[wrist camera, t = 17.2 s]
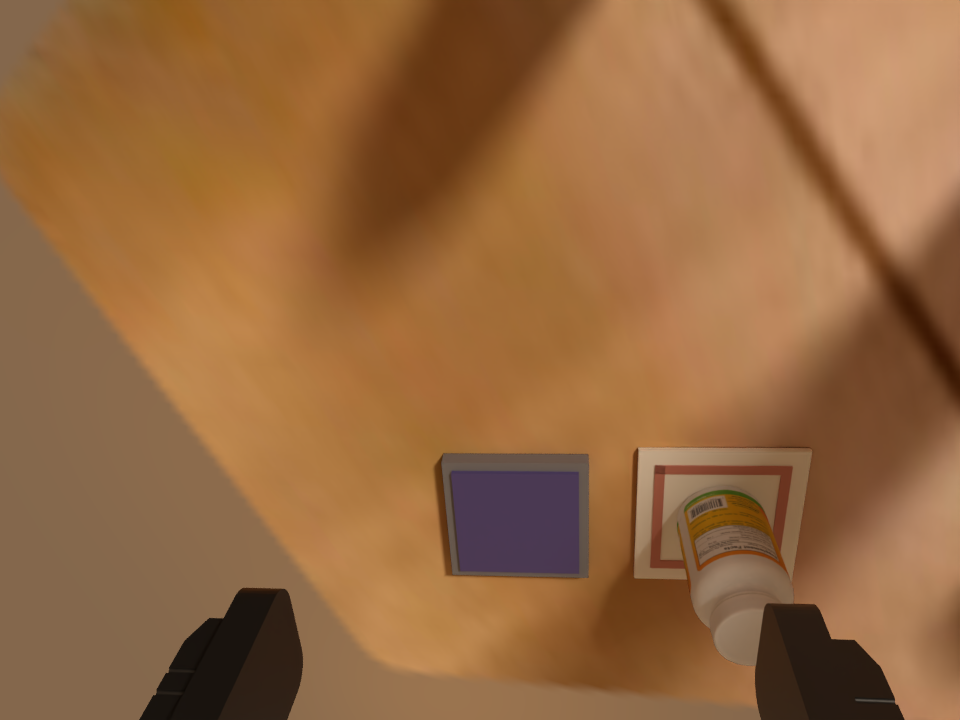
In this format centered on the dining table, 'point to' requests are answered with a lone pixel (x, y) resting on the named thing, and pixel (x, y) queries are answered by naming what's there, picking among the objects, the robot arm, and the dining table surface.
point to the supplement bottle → (731, 567)
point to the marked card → (690, 470)
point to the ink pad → (518, 514)
